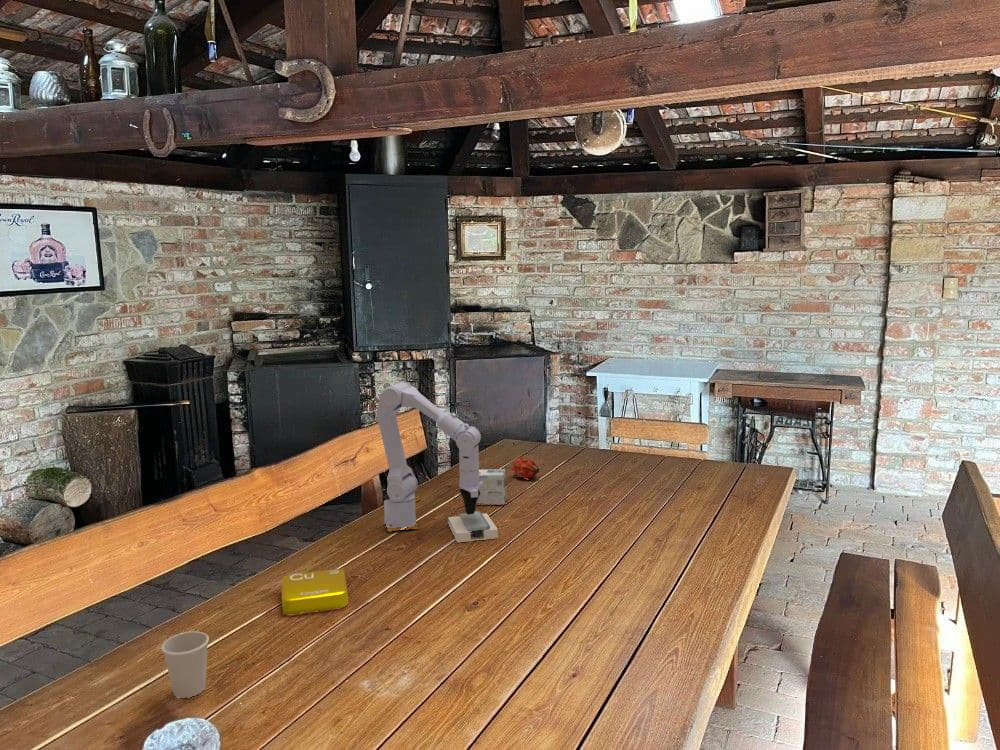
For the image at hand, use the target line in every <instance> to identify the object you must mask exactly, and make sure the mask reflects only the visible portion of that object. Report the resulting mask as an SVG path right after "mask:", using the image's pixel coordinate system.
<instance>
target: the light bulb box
mask: <svg viewBox="0 0 1000 750" xmlns="http://www.w3.org/2000/svg"><path fill="white" fill-rule="evenodd" d="M506 479H507V478H506V469H505V468H504V469H503V468H502V469H479V482H483V486H480V487H479V491H480V496H479V497H478V500H477V503H484V504H505V505H506V502H507V484H506V483H507V481H506ZM505 501H506V502H505Z"/></svg>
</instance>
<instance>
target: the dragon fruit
mask: <svg viewBox="0 0 1000 750" xmlns="http://www.w3.org/2000/svg"><path fill="white" fill-rule="evenodd" d="M512 464H513V465H512V466H511V468H510V470H511V471H512V472H514V476H515V477H516V476H517V477H518V476H520V478H521V477H524V478H528V477H529V478H536V477H537V475H538V473H539V471H540V468H539V467H538V465H537V464H536V463H535V462H534V460H533V461H532V460H531V459H530V458H529V457H526V456H521V457H517V458H516V459H515V460H514V462H512ZM518 478H519V477H518ZM529 478H528V479H529Z"/></svg>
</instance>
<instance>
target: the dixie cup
mask: <svg viewBox="0 0 1000 750" xmlns="http://www.w3.org/2000/svg"><path fill="white" fill-rule="evenodd" d="M209 642H210V638H209V635H208V634H207V633H205V632H202V631H193V630H191V631H185V632H182V633H177V634H174V635H173V636H171V637H169V638H167V639H166V640H165V641H164V642H163V643H162V644H161V648H160V649H161V651H162V653H163V656H164V661H165V663H166V668H167V671H168V672H167V673H168V676H169V680H170V684H171V688H172V692H173V695H175V696H177V697H180V698H185V697H192V696H195V695H197V694H199V693H201V692H202V691H203V690H204V689H205V690H206V688H207V687H206V685H207V684H206V683H207V663H208V643H209ZM205 687H206V688H205ZM205 690H204V691H205ZM204 691H203V692H204ZM203 692H202V693H203ZM202 693H201V694H202ZM199 695H200V694H199ZM175 696H174V697H175ZM195 697H196V696H195ZM192 698H193V697H192Z"/></svg>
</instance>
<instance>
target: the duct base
mask: <svg viewBox="0 0 1000 750" xmlns="http://www.w3.org/2000/svg"><path fill="white" fill-rule="evenodd" d="M482 515H483V516H484V518H485V519H486V521H487V522H488V524H489V525H490V528H489V529H483V530H479V531H480V532H481V535H480V537H475V536H474V534H471V533H472V532H468V530H467V528H466V526H465V525H464V523H463V521H462V519H461V518H460V515H458V516H457V515H456V516H448V518H447V519H448V520H447V523H448V524H449V526H448V528H449V527H450V529H451V531H452V533H453V535H454V537H455V539H456V541H457V542H466V541H474V540H486V539H494V538H498V539H499V530H498V527H497V526H496V525H495V523H494V521H493V520H492V519H491V518H490V516H489V515H488V513H482ZM450 529H449V530H450ZM451 531H450V532H451ZM452 533H451V534H452ZM453 535H452V536H453ZM454 537H453V538H454ZM455 539H454V540H455ZM456 541H455V542H456ZM486 541H487V540H486Z"/></svg>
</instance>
